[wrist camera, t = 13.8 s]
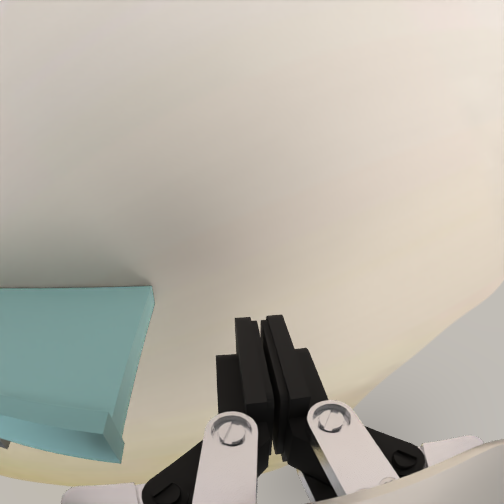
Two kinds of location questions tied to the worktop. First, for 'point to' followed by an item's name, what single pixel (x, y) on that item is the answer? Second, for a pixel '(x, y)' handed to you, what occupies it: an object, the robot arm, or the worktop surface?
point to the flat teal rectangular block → (70, 366)
